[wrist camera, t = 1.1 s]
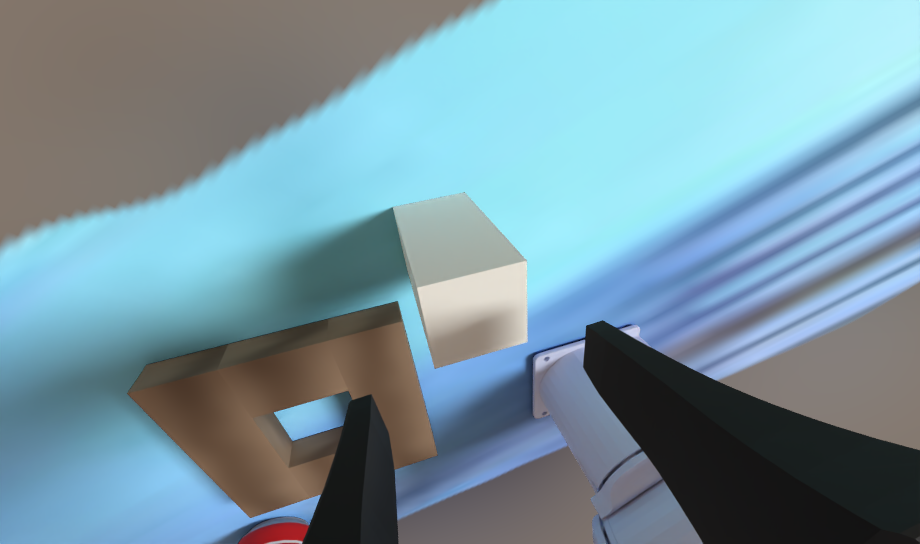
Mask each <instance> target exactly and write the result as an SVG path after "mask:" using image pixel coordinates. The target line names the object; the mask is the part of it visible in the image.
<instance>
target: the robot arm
mask: <svg viewBox="0 0 920 544" xmlns="http://www.w3.org/2000/svg"><path fill="white" fill-rule="evenodd" d="M639 333H640V328H639V327H638V326H637V325H632V326H628V327H625V328H622V329H617V328H615V327H614V326H612V325H610V324H608V323H606V322H605V321H600V322H596V323H593V324H590V325H587V326H586V336H585V340H582V341H578V342H575V343H572V344H568V345H565V346H562V347H558V348H555V349H551V350H548V351H545V352H541V353H538V354H536V355H535V356H534V358H533V416H534V418H537V419H538V418H542V417H545V416H548V415H551V417H552V418H553V420H554V422H555V424H556V425H557V427H558V429H559V431H560V432H561V434H562V436H563V437H564V439H565V441H566V443H567V444H568V446H569V448H570V450H571V451H572V453H573V455H574V456H575V458H576V460H577V462H578V464H579V465H580V467H581V469H582V470H583V472H584V474H585V475H586V477H587V479H588V481H589V483H590V484H591V486H592V488H593V490H594V491H595V493H596V495H594V496H593V497H592V498H591V501H592V503H593V505H594V507H595V508H596V511H597V512H598V514H597V515H596V516H594V518H593V521H592V526H593V542H594V544H920V450H917V449H913V448H909V447H905V446H902V445H898V444H894V443H890V442H887V441H883V440H879V439H876V438H872V437H869V436H866V435H862V434H859V433H856V432H852V431H849V430H846V429H843V428H839V427H836V426H833V425H830V424H827V423H824V422H821V421H818V420H815V419H812V418H809V417H806V416H803V415H801V414H798V413H795V412H792V411H790V410H787V409H784V408H781V407H779V406H776V405H773V404H771V403H768V402H766V401H763V400H760V399H758V398H755V397H753V396H751V395H748V394H746V393H743V392H741V391H739V390H736V389H734V388H732V387H729V386H727V385H725V384H722V383H720V382H718V381H716V380H714V379H712V378H709V377H707V376H705V375H703V374H701V373H699V372H697V371H695V370H693V369H691V368H689V367H687V366H685V365H683V364H681V363H679V362H677V361H675V360H673V359H671V358H669V357H667V356H666V355H664V354H662V353H660V352H658V351H656V350H655V349H653V348H651V347H650V346H649V345H648V344H647V343H646V342H645V341H644V340H643V339H642V338H641V337H640V336H639ZM302 544H398V526H397V507H396V489H395V471H394V462H393V456H392V449H391V443H390V437H389V432H388V430H387V428H386V425H385V423H384V421H383V419H382V416H381V414H380V412H379V410H378V407H377V405H376V403H375V401H374V399H373V396H372V394H370V395H367V396H363V397H360V398H357V399H354V400H351V401H350V403H349V405H348V409H347V414H346V418H345V422H344V426H343V429H342V433H341V436H340V440H339V443H338V447H337V450H336V453H335V456H334V459H333V462H332V465H331V468H330V471H329V474H328V477H327V480H326V483H325V486H324V489H323V491H322V494H321V497H320V499H319V502H318V505H317V507H316V510H315V512H314V515H313V518H312V520H311V523H310V525H309V528H308V530H307V532H306V535H305V537H304V540H303V542H302Z"/></svg>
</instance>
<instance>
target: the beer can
mask: <svg viewBox="0 0 920 544" xmlns="http://www.w3.org/2000/svg"><path fill="white" fill-rule="evenodd" d="M308 528H309V525H308V523H307V522H306V521H305V520H303V519H300V518H296V517H280V518H274V519H271V520H267V521H264V522H262V523H260V524H258V525H256V526H255V527H254V528H252V529H251V530H250V531H249V533H247V534H246V535H245V536H244V537H243V538H242V539H241V540H240V541H239V543H238V544H302V542H303V540H304V537H305V535H306V532H307V530H308Z"/></svg>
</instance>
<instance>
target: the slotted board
mask: <svg viewBox="0 0 920 544" xmlns="http://www.w3.org/2000/svg"><path fill="white" fill-rule="evenodd" d="M345 391H349V393H350V395H351V397H352V400H354V399H357V398H360V397H363V396H367V395H370V394H372V396H373V399H374V401H375V403H376V405H377V407H378V410H379V412H380V414H381V416H382V419H383V421H384V423H385V425H386V428H387V430H388V432H389V437H390V443H391V449H392V456H393V462H394V470H395V469H398V468H401V467H404V466H407V465H410V464H413V463H416V462H419V461H422V460H425V459H428V458H431V457H434V456H437V450H436V446H435V441H434V437H433V432H432V429H431V425H430V421H429V417H428V414H427V410H426V406H425V402H424V399H423V395H422V391H421V387H420V383H419V380H418V376H417V372H416V368H415V365H414V361H413V357H412V353H411V349H410V346H409V342H408V338H407V334H406V331H405V327H404V323H403V319H402V315H401V312H400V308H399V304H398V301H397V302H393V303H390V304H386V305H382V306H378V307H374V308H370V309H366V310H362V311H358V312H354V313H350V314H346V315H342V316H338V317H334V318H330V319H326V320H322V321H318V322H314V323H310V324H306V325H302V326H298V327H294V328H291V329H287V330H283V331H279V332H275V333H271V334H267V335H263V336H259V337H255V338H251V339H247V340H243V341H239V342H235V343H231V344H227V345H223V346H219V347H215V348H211V349H207V350H203V351H199V352H195V353H192V354H188V355H184V356H180V357H176V358H172V359H168V360H164V361H160V362H156V363H152V364H148V365H146V366H145V368H144V369H143V371H142V372H141V374H140V375H139V377H138V378H137V380H136V381H135V383H134V384H133V386H132V387H131V389H130V390H129V391H128V393H127V394H128V395H129V396H130V397H131V398H132V399H133V400H134V401H135V402H136V403H137V404H138V405H139V406H140V407H141V408H142V409H143V410H144V411H145V412H146V413H147V414H148V415H149V416H150V417H151V418H152V419H153V420H154V421H155V422H156V423H157V424H158V425H159V426H160V427H161V428H162V429H163V430H164V431H165V432H166V433H167V435H168V436H169V437H170V438H171V439H172V440H173V441H174V442H175V443H176V444H177V445H178V446H179V447H180V448H181V449H182V450H183V451H184V452H185V453H186V454H187V455H188V456H189V457H190V458H191V459H192V460H193V461H194V462H195V463H196V464H197V465H198V466H199V467H200V468H201V469H202V470H203V471H204V472H205V473H206V474H207V475H208V476H209V477H210V478H211V479H212V480H213V481H214V482H215V483H216V484H217V485H218V486H219V487H220V488H221V489H222V490H223V491H224V492H225V493H226V494H227V495H228V496H229V497H230V498H231V499H232V500H233V501H234V502H235V503H236V504H237V505H238V506H239V507H240V508H241V509H242V510H243V511H244V512H245V513H246V514H247V515H248V516H249V517H250V518H252V517H255V516H258V515H261V514H264V513H267V512H270V511H273V510H276V509H279V508H282V507H285V506H288V505H291V504H294V503H297V502H300V501H303V500H306V499H309V498H312V497H315V496H318V495H321V494H322V491H323V489H324V486H325V483H326V480H327V477H328V474H329V471H330V468H331V465H332V462H333V459H334V456H335V453H336V450H337V447H338V443H339V440H340V436H341V433H342V429H343V426H342V427H339V428H335V429H332V430H329V431H325V432H322V433H319V434H316V435H312V436H309V437H306V438H303V439H299V440H296V441H293V442H292V440H291V438H290V437H289V435H288V434H287V432H286V431H285V429H284V428H283V426H282V425H281V423H280V422H279V420H278V419H277V417H276V416H275V414H274V413H273V412H276V411H280V410H283V409H287V408H290V407H294V406H297V405H300V404H304V403H307V402H311V401H314V400H318V399H321V398H325V397H328V396H332V395H335V394H338V393H342V392H345Z"/></svg>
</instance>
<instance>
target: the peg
mask: <svg viewBox="0 0 920 544" xmlns="http://www.w3.org/2000/svg"><path fill="white" fill-rule="evenodd" d="M393 211H394V215H395V219H396V224H397V228H398V232H399V236H400V241H401V245H402V249H403V254H404V258H405V262H406V267H407V271H408V275H409V278H410V282H411V285H412V289H413V292H414V296H415V300H416V303H417V307H418V310H419V314H420V317H421V321H422V325H423V328H424V332H425V335H426V339H427V342H428V346H429V350H430V353H431V357H432V360H433V364H434V368H435V369H436V368H439V367H443V366H446V365H450V364H453V363H457V362H460V361H464V360H467V359H470V358H474V357H477V356H481V355H484V354H488V353H491V352H495V351H498V350H501V349H505V348H508V347H512V346H515V345H519V344H522V343H526V342H527V260H526V259H525V258H524V257H523V256H522V255H521V254H520V253H519V252H518V250H517V249H516V248H515V247H514V246H513V245H512V244H511V243H510V242H509V240H508V239H507V238H506V237H505V236H504V235H503V234H502V233H501V232H500V231H499V229H498V228H497V227H496V226H495V225H494V224H493V223H492V222H491V221H490V220H489V218H488V217H487V216H486V215H485V214H484V213H483V212H482V211H481V210H480V209H479V207H478V206H477V205H476V204H475V203H474V202H473V201H472V200H471V199H470V197H469V196H468V195H467V194H466V193H465V192H464V193H459V194H454V195H449V196H444V197H439V198H434V199H429V200H425V201H420V202H415V203H410V204H405V205H400V206H395V207H393Z"/></svg>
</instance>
